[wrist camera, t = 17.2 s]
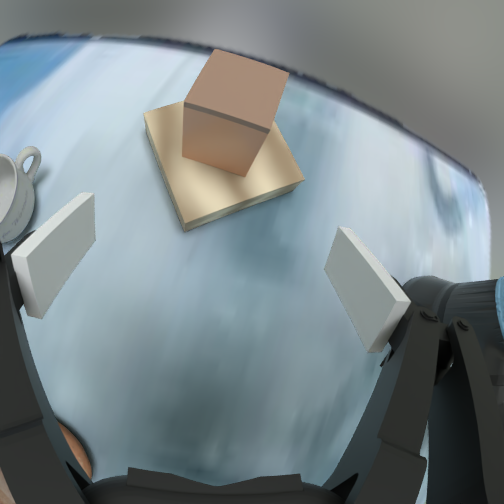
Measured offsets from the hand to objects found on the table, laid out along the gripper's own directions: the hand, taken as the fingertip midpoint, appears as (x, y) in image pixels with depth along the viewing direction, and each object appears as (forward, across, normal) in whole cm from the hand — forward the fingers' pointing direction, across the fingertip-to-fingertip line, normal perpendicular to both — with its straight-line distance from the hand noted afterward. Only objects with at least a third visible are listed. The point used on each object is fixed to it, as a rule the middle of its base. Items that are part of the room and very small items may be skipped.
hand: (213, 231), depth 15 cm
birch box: (+27, 0, -2) cm, 27 cm away
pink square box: (+24, 0, +2) cm, 24 cm away
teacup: (+20, -28, -8) cm, 35 cm away
